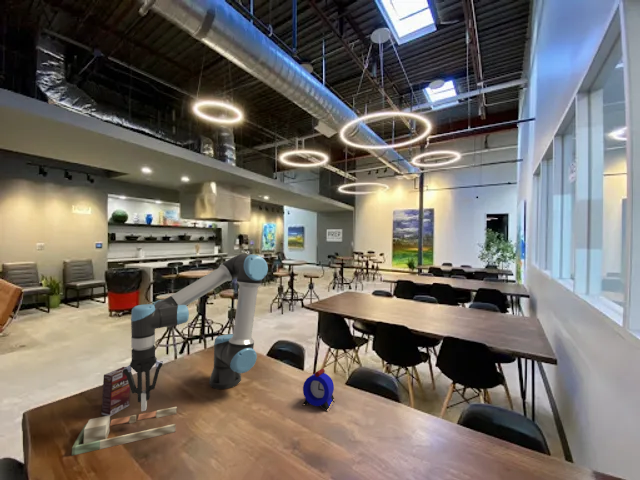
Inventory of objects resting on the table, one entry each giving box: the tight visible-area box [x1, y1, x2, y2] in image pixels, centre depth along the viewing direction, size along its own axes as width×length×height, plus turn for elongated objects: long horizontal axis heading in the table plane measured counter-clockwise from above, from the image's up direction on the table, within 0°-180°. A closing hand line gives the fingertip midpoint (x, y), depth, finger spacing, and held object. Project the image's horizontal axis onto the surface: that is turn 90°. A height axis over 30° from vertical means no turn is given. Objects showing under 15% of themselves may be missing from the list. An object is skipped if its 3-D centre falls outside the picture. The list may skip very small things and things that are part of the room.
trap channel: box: [71, 406, 178, 456], centre depth 106 cm, size 30×17×2 cm, turn 115°
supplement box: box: [101, 366, 131, 417], centre depth 117 cm, size 9×5×16 cm, turn 163°
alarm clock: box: [302, 368, 335, 411], centre depth 127 cm, size 12×12×15 cm
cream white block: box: [83, 415, 111, 444], centre depth 100 cm, size 6×6×6 cm
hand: (144, 409), depth 107 cm, fingers closed
